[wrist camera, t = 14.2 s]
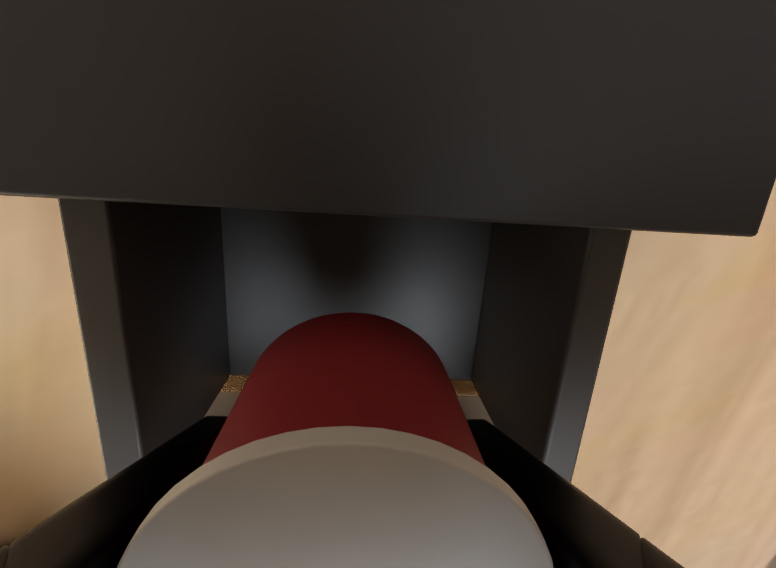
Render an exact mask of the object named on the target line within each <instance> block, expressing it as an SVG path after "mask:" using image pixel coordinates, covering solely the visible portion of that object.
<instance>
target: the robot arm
mask: <svg viewBox="0 0 776 568" xmlns="http://www.w3.org/2000/svg"><path fill="white" fill-rule="evenodd" d="M226 419H227V416H206V417H204V418H202V419H201V420H199V421H198V422H196V423H195V424H193V425H192V426H190V427H188V428H187V429H185V430H184V431H182V432H181V433H179V434H178V435H176V436H174V437H173V438H171V439H170V440H168V441H167V442H165V443H164V444H162V445H161V446H159V447H157V448H156V449H154V450H153V451H151V452H150V453H148V454H147V455H145V456H143V457H142V458H140V459H139V460H137V461H136V462H134V463H133V464H131V465H130V466H128V467H126V468H125V469H123V470H122V471H120V472H119V473H117V474H116V475H114V476H112V477H111V478H109V479H108V480H106V481H105V482H103V483H102V484H100V485H98V486H97V487H95V488H94V489H92V490H91V491H89V492H88V493H86V494H85V495H83V496H81V497H80V498H78V499H77V500H75V501H74V502H72V503H71V504H69V505H67V506H66V507H64V508H63V509H61V510H60V511H58V512H57V513H55V514H54V515H52V516H50V517H49V518H47V519H46V520H44V521H43V522H41V523H40V524H38V525H36V526H35V527H33V528H32V529H30V530H29V531H27V532H26V533H24V534H22V535H21V536H19V537H18V538H16V539H15V540H13V541H12V542H11V544H10V547H9V546H4V547H2V548H1V549H0V568H117V566H118V564H119V562H120V560H121V558H122V556H123V554H124V552H125V550H126V548H127V546H128V544H129V543H130V541H131V539H132V538H133V536H134V534H135V533H136V531H137V529H138V528H139V526H140V525H141V523H142V522H143V521H144V519H145V518H146V516H147V515H148V514H149V512H150V511H151V510H152V508H153V507H154V506H155V504H156V503H157V502H158V501H159V500H160V499H161V498H162V497H163V496H164V495H166V494H167V493H168V492H169V491H170V490H171V489H172V488H173V487H174V486H175V485H176V484H177V483H179V482H180V481H181V480H183V479H184V478H185V477H187V476H188V475H189V474H191V473H192V472H193V471H195V470H196V469H197V468H199V467H201V466H202V465H203V463H204V461H205V460H206V458H207V456H208V454H209V452H210V450H211V448H212V446H213V444H214V442H215V440H216V438H217V437H218V435H219V433H220V431H221V429H222V427H223V425H224V423H225V421H226ZM467 422H468V425H469V427H470V430H471V432H472V434H473V437H474V439H475V442H476V444H477V446H478V449H479V451H480V454H481V456H482V459H483V461H484V463H485V466H486V467H488V468H489V469H490V470H491V471H493V472H494V473H495V474H496V475H497V476H499V477H500V478H501V479H502V480H503V481H504V482H506V483H507V484H508V485H509V486H510V487H511V488H512V489H513V491H514V492H515V493H516V494H517V495H518V496H519V497H520V499H521V500H522V501H523V502H524V503H525V505H526V507H527V508H528V510H529V512H530V513H531V515H532V516H533V518H534V520H535V521H536V523H537V525H538V527H539V529H540V532H541V534H542V536H543V538H544V540H545V542H546V545H547V548H548V550H549V553H550V555H551V558H552V562H553V567H554V568H684V567H683V566H681V565H680V564H679V563H677V562H676V561H674V560H673V559H672V558H670V557H669V556H668V555H666V554H665V553H664V552H662V551H661V550H660V549H658V548H657V547H656V546H654V545H653V544H652V543H650V542H649V541H648V540H646V539H645V538H641V539H640V536H639V534H638V533H637V532H635V531H634V530H633V529H631V528H630V527H629V526H627V525H626V524H625V523H623V522H622V521H621V520H619V519H618V518H617V517H615V516H614V515H613V514H611V513H610V512H609V511H607V510H606V509H605V508H603V507H602V506H601V505H599V504H598V503H597V502H595V501H594V500H593V499H591V498H590V497H589V496H587V495H586V494H584V493H583V492H582V491H580V490H579V489H578V488H576V487H575V486H574V485H572V484H571V483H570V482H568V481H567V480H566V479H564V478H563V477H562V476H560V475H559V474H558V473H556V472H555V471H554V470H552V469H551V468H550V467H548V466H547V465H546V464H544V463H543V462H542V461H540V460H539V459H538V458H536V457H535V456H534V455H532V454H531V453H530V452H528V451H527V450H526V449H524V448H523V447H522V446H520V445H519V444H518V443H516V442H515V441H514V440H512V439H511V438H510V437H508V436H507V435H506V434H504V433H503V432H502V431H500V430H499V429H498V428H496V427H495V426H494V425H492V424H491V423H490V422H488V421H487V420H485V419H467Z"/></svg>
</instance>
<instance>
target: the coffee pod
mask: <svg viewBox="0 0 776 568" xmlns="http://www.w3.org/2000/svg"><path fill="white" fill-rule="evenodd" d="M117 568H554V567H553V562H552V558H551V555H550V553H549V550H548V548H547V545H546V542H545V540H544V538H543V536H542V534H541V532H540V529H539V527H538V525H537V523H536V521H535V520H534V518H533V516H532V515H531V513H530V512H529V510H528V508H527V507H526V505H525V503H524V502H523V501H522V500H521V499H520V497H519V496H518V495H517V494H516V493H515V492H514V491H513V489H512V488H511V487H510V486H509V485H508V484H507V483H506V482H504V481H503V480H502V479H501V478H500V477H499V476H497V475H496V474H495V473H494V472H493V471H491V470H490V469H489V468H488V467H486V466H485V463H484V461H483V459H482V456H481V454H480V451H479V449H478V446H477V444H476V442H475V439H474V437H473V434H472V432H471V430H470V427H469V425H468V422H467V420H466V417H465V415H464V413H463V410H462V408H461V405H460V403H459V401H458V398H457V396H456V393H455V391H454V388H453V386H452V384H451V381H450V379H449V376H448V374H447V372H446V369H445V367H444V365H443V363H442V361H441V360H440V358H439V356H438V355H437V353H436V352H435V351H434V350H433V348H432V347H431V346H430V345H429V344H428V343H427V342H426V341H425V340H424V339H423V338H422V337H421V336H420V335H418V334H417V333H415V332H414V331H412V330H411V329H409V328H408V327H406V326H404V325H402V324H400V323H398V322H396V321H393V320H391V319H388V318H385V317H382V316H377V315H373V314H368V313H357V312H344V313H334V314H327V315H323V316H319V317H316V318H312V319H309V320H307V321H305V322H302V323H300V324H298V325H296V326H294V327H292V328H291V329H289V330H287V331H286V332H284V333H283V334H282V335H280V336H279V337H278V338H277V339H275V340H274V341H273V342H272V343H271V344H270V345H269V346H268V347H267V348H266V349H265V351H264V352H263V353H262V355H261V356H260V357H259V359H258V360H257V362H256V364H255V366H254V368H253V370H252V371H251V373H250V375H249V377H248V379H247V381H246V383H245V385H244V387H243V389H242V391H241V392H240V394H239V396H238V398H237V400H236V402H235V404H234V406H233V408H232V410H231V412H230V414H229V415H228V417H227V419H226V421H225V423H224V425H223V427H222V429H221V431H220V433H219V435H218V437H217V438H216V440H215V442H214V444H213V446H212V448H211V450H210V452H209V454H208V456H207V458H206V460H205V461H204V463H203V465H202V466H201V467H199V468H197V469H196V470H195V471H193V472H192V473H191V474H189V475H188V476H187V477H185V478H184V479H183V480H181V481H180V482H179V483H177V484H176V485H175V486H174V487H173V488H172V489H171V490H170V491H169V492H168V493H167V494H166V495H164V496H163V497H162V498H161V499H160V500H159V501H158V502H157V503H156V504H155V506H154V507H153V508H152V510H151V511H150V512H149V514H148V515H147V516H146V518H145V519H144V521H143V522H142V523H141V525H140V526H139V528H138V529H137V531H136V533H135V534H134V536H133V538H132V539H131V541H130V543H129V544H128V546H127V548H126V550H125V552H124V554H123V556H122V558H121V560H120V562H119V564H118V566H117Z"/></svg>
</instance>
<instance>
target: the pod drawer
mask: <svg viewBox="0 0 776 568" xmlns="http://www.w3.org/2000/svg"><path fill="white" fill-rule="evenodd" d="M58 201H59V206H60V212H61V218H62V224H63V230H64V235H65V241H66V247H67V253H68V259H69V265H70V270H71V276H72V282H73V288H74V294H75V299H76V305H77V311H78V317H79V323H80V328H81V334H82V340H83V346H84V352H85V357H86V363H87V369H88V375H89V381H90V387H91V392H92V398H93V404H94V410H95V416H96V421H97V427H98V433H99V439H100V445H101V450H102V456H103V462H104V468H105V474H106V479H107V480H108V479H109V478H111V477H112V476H114V475H116V474H117V473H119V472H120V471H122V470H123V469H125V468H126V467H128V466H130V465H131V464H133V463H134V462H136V461H137V460H139V459H140V458H142V457H143V456H145V455H147V454H148V453H150V452H151V451H153V450H154V449H156V448H157V447H159V446H161V445H162V444H164V443H165V442H167V441H168V440H170V439H171V438H173V437H174V436H176V435H178V434H179V433H181V432H182V431H184V430H185V429H187V428H188V427H190V426H192V425H193V424H195V423H196V422H198V421H199V420H201V419H202V418H204V417H206V416H227V417H228V415H229V414H230V412H231V410H232V408H233V406H234V404H235V402H236V400H237V398H238V396H239V394H240V392H220V390H221V389H222V387H223V385H224V384H225V382H226V381H227V379H228V377H229V376H230V375H250V373H251V371H252V370H253V368H254V366H255V364H256V362H257V360H258V359H259V357H260V356H261V355H262V353H263V352H264V351H265V349H266V348H267V347H268V346H269V345H270V344H271V343H272V342H273V341H274V340H275V339H277V338H278V337H279V336H280V335H282V334H283V333H284V332H286V331H287V330H289V329H291V328H292V327H294V326H296V325H298V324H300V323H302V322H305V321H307V320H309V319H312V318H316V317H319V316H323V315H327V314H334V313H344V312H357V313H368V314H373V315H377V316H382V317H385V318H388V319H391V320H393V321H396V322H398V323H400V324H402V325H404V326H406V327H408V328H409V329H411V330H412V331H414V332H415V333H417V334H418V335H420V336H421V337H422V338H423V339H424V340H425V341H426V342H427V343H428V344H429V345H430V346H431V347H432V348H433V350H434V351H435V352H436V353H437V355H438V356H439V358H440V360H441V361H442V363H443V365H444V367H445V369H446V372H447V374H448V376H449V379H450V380H471V381H472V383H473V385H474V387H475V389H476V391H477V393H478V395H479V396H457V398H458V401H459V403H460V405H461V408H462V410H463V413H464V415H465V417H466V420H467V419H485V420H487V421H488V422H490V423H491V424H492V425H494V426H495V427H496V428H498V429H499V430H500V431H502V432H503V433H504V434H506V435H507V436H508V437H510V438H511V439H512V440H514V441H515V442H516V443H518V444H519V445H520V446H522V447H523V448H524V449H526V450H527V451H528V452H530V453H531V454H532V455H534V456H535V457H536V458H538V459H539V460H540V461H542V462H543V463H544V464H546V465H547V466H548V467H550V468H551V469H552V470H554V471H555V472H556V473H558V474H559V475H560V476H562V477H563V478H564V479H566V480H567V481H568V482H570V483H571V480H572V476H573V472H574V468H575V463H576V459H577V455H578V451H579V447H580V443H581V438H582V434H583V430H584V426H585V422H586V418H587V414H588V409H589V405H590V401H591V397H592V393H593V389H594V384H595V380H596V376H597V372H598V368H599V364H600V359H601V355H602V351H603V347H604V343H605V339H606V335H607V330H608V326H609V322H610V318H611V314H612V310H613V305H614V301H615V297H616V293H617V289H618V285H619V281H620V276H621V272H622V268H623V264H624V260H625V256H626V251H627V247H628V243H629V239H630V235H631V231H632V230H620V229H602V228H584V227H566V226H548V225H530V224H512V223H494V222H476V221H458V220H440V219H421V218H403V217H385V216H367V215H349V214H331V213H313V212H295V211H277V210H259V209H241V208H223V207H205V206H187V205H169V204H151V203H133V202H115V201H97V200H79V199H61V198H58Z"/></svg>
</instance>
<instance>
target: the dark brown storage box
mask: <svg viewBox="0 0 776 568" xmlns="http://www.w3.org/2000/svg"><path fill="white" fill-rule="evenodd" d="M775 179H776V0H0V195H7V196H25V197H43V198H61V199H79V200H97V201H115V202H133V203H151V204H169V205H187V206H205V207H223V208H241V209H259V210H277V211H295V212H313V213H331V214H349V215H367V216H385V217H403V218H421V219H440V220H458V221H476V222H494V223H512V224H530V225H548V226H566V227H584V228H602V229H620V230H638V231H656V232H674V233H692V234H710V235H728V236H746V237H751V236H755V235H756V234H757V233H758V230H759V227H760V224H761V221H762V218H763V215H764V212H765V209H766V206H767V203H768V200H769V197H770V194H771V191H772V188H773V185H774V182H775Z"/></svg>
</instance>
